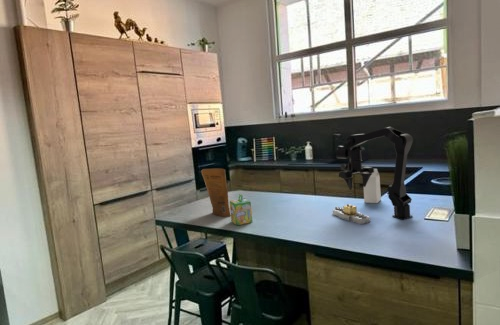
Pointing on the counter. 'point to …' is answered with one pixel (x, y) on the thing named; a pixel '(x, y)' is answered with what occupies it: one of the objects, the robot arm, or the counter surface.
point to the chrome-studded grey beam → (355, 218)
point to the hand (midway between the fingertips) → (357, 188)
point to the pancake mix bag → (217, 190)
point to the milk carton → (372, 188)
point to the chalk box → (241, 211)
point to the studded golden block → (350, 209)
